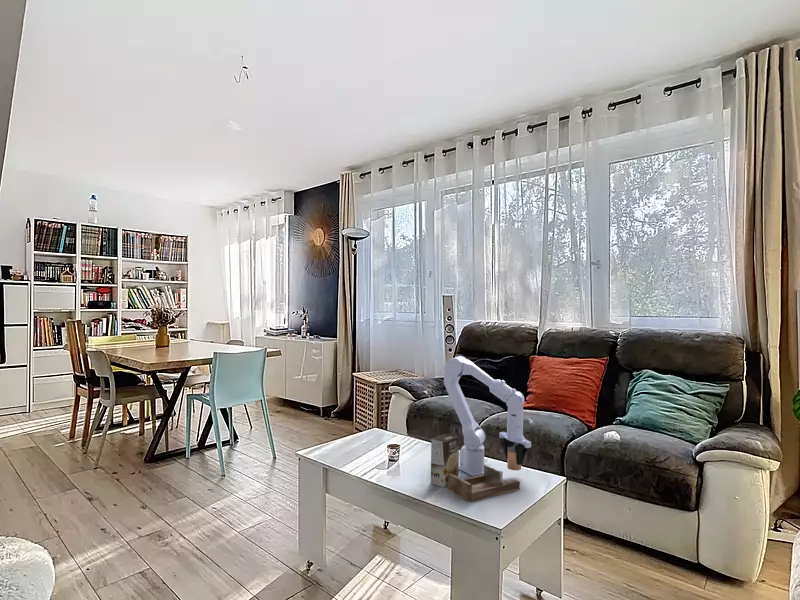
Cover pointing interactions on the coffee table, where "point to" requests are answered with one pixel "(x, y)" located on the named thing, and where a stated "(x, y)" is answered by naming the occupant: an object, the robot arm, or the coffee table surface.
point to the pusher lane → (478, 487)
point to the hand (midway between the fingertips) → (514, 462)
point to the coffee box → (444, 458)
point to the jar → (512, 459)
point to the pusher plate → (492, 475)
